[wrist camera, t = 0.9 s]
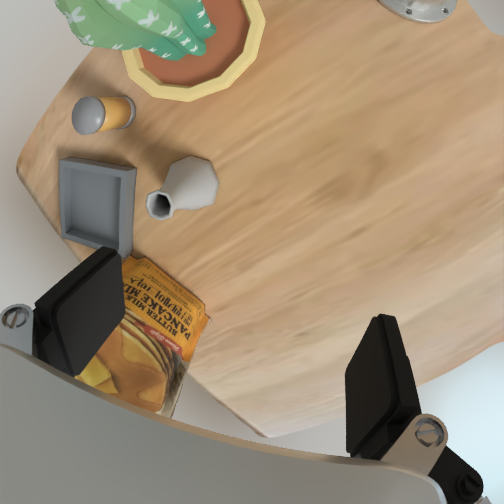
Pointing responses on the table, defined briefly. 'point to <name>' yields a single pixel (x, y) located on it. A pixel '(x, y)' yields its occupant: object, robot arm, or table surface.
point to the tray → (97, 203)
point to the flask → (184, 188)
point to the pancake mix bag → (149, 340)
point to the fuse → (102, 114)
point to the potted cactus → (173, 40)
